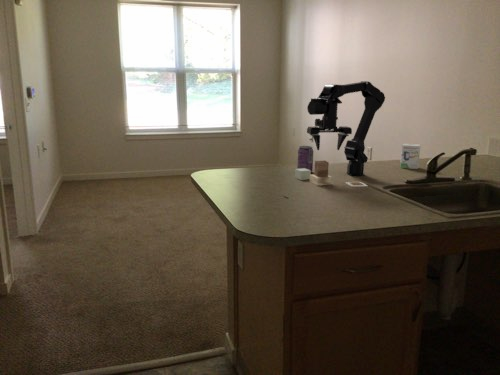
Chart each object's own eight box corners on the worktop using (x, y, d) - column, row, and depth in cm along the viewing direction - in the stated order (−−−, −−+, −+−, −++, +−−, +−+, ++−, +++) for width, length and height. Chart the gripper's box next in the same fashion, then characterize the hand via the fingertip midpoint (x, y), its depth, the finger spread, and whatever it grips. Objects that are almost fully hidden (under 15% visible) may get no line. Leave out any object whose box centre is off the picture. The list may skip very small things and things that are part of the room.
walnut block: (327, 176, 187) (328, 162, 185) (317, 176, 186) (318, 162, 184) (324, 174, 191) (325, 160, 189) (314, 174, 190) (314, 160, 189)
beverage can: (312, 170, 213) (313, 145, 210) (312, 173, 206) (313, 148, 203) (297, 170, 214) (298, 145, 211) (297, 173, 207) (298, 147, 204)
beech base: (324, 181, 193) (324, 173, 192) (331, 185, 187) (332, 177, 186) (309, 182, 191) (310, 174, 190) (316, 186, 185) (317, 178, 184)
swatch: (360, 182, 191) (360, 181, 191) (367, 186, 184) (367, 185, 184) (345, 182, 190) (345, 181, 189) (351, 186, 183) (352, 185, 183)
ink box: (417, 167, 225) (420, 144, 223) (418, 169, 221) (420, 145, 218) (399, 166, 228) (402, 143, 225) (400, 168, 223) (402, 144, 220)
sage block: (304, 176, 200) (304, 168, 199) (310, 179, 196) (310, 170, 195) (294, 177, 198) (295, 169, 197) (300, 180, 194) (300, 171, 193)
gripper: (343, 112, 201) (341, 146, 205) (303, 112, 198) (302, 147, 202) (353, 114, 191) (350, 150, 194) (311, 114, 187) (310, 151, 191)
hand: (328, 150), depth 196 cm, fingers open, 9 cm apart
